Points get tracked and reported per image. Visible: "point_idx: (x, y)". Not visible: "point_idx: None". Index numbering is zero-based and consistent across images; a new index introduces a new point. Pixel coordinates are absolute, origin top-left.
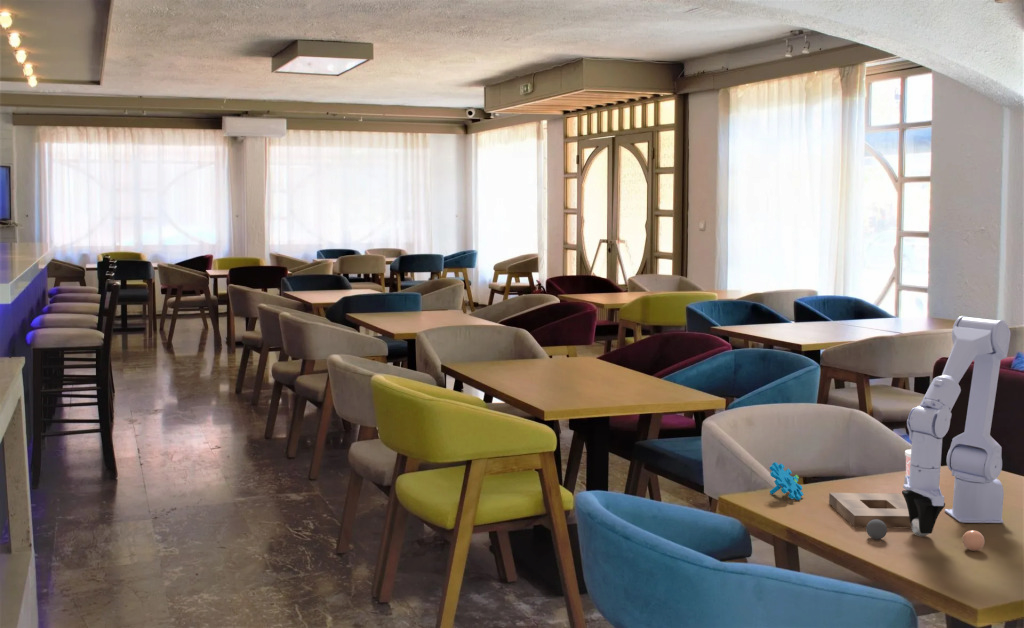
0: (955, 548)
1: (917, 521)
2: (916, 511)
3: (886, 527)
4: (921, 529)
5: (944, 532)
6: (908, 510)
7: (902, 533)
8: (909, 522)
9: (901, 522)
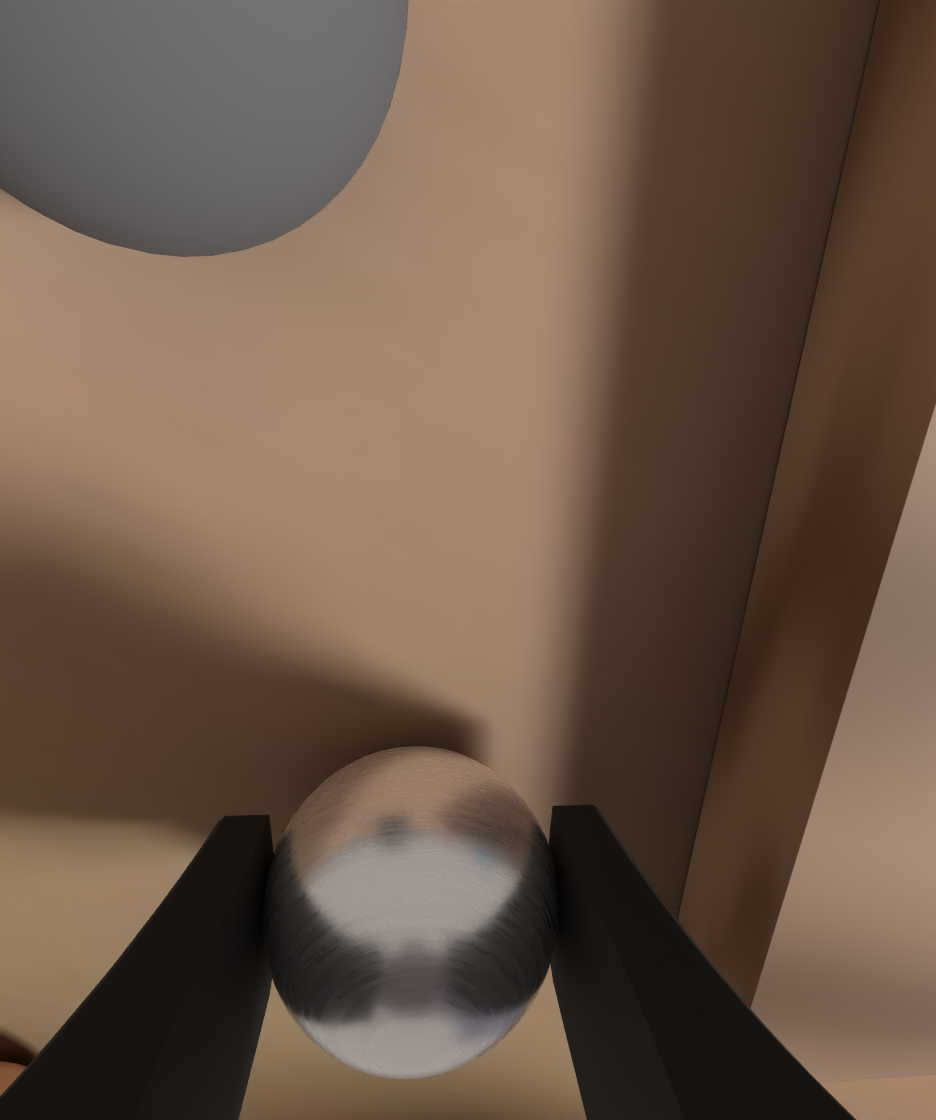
0: (26, 972)
1: (335, 925)
2: (619, 1075)
3: (29, 200)
4: (195, 862)
5: (530, 1016)
6: (706, 982)
7: (511, 623)
8: (739, 821)
9: (762, 731)
